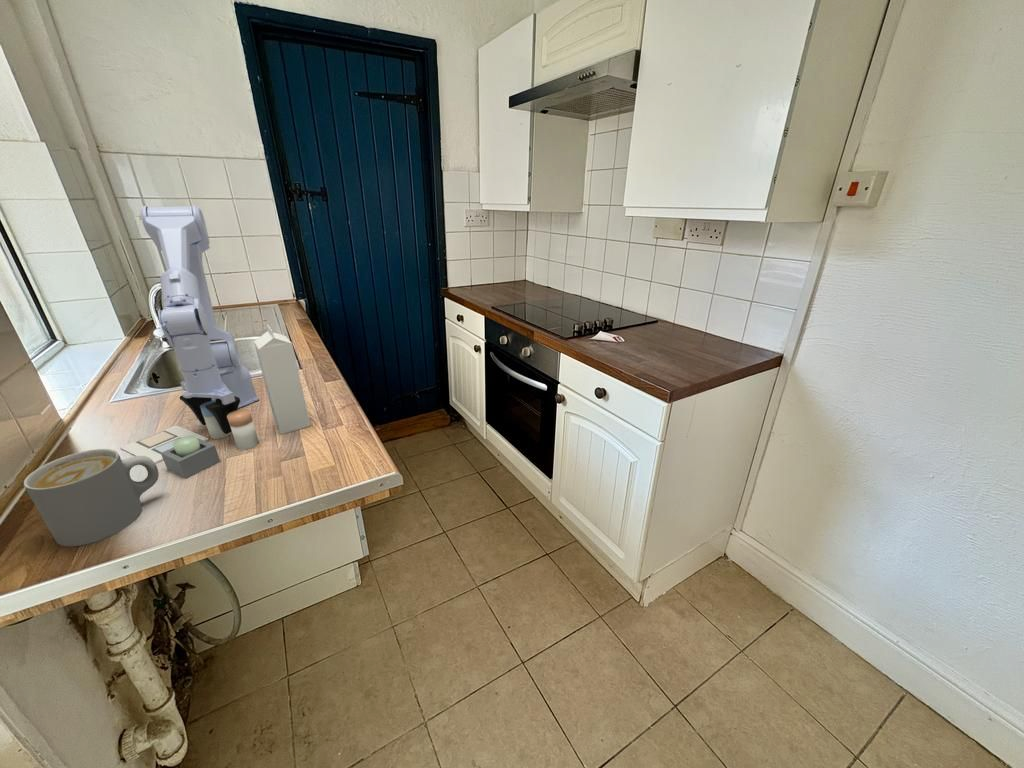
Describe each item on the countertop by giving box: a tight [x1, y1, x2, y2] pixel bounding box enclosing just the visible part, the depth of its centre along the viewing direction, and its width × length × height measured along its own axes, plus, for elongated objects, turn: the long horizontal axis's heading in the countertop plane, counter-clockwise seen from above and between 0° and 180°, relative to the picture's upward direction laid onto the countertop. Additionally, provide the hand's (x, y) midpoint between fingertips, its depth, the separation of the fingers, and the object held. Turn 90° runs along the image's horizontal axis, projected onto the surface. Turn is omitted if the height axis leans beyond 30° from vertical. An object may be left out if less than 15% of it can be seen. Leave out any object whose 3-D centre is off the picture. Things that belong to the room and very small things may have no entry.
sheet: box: [120, 424, 209, 465], centre depth 85 cm, size 10×12×1 cm
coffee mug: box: [23, 448, 160, 547], centre depth 64 cm, size 13×10×10 cm
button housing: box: [161, 438, 221, 479], centre depth 78 cm, size 6×6×4 cm
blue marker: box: [200, 400, 233, 440], centre depth 87 cm, size 4×4×7 cm
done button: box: [173, 435, 201, 458], centre depth 77 cm, size 4×4×4 cm
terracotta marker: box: [227, 408, 259, 451], centre depth 83 cm, size 4×4×7 cm
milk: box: [253, 324, 311, 435], centre depth 88 cm, size 6×6×22 cm
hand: (219, 427), depth 88 cm, fingers open, 7 cm apart
